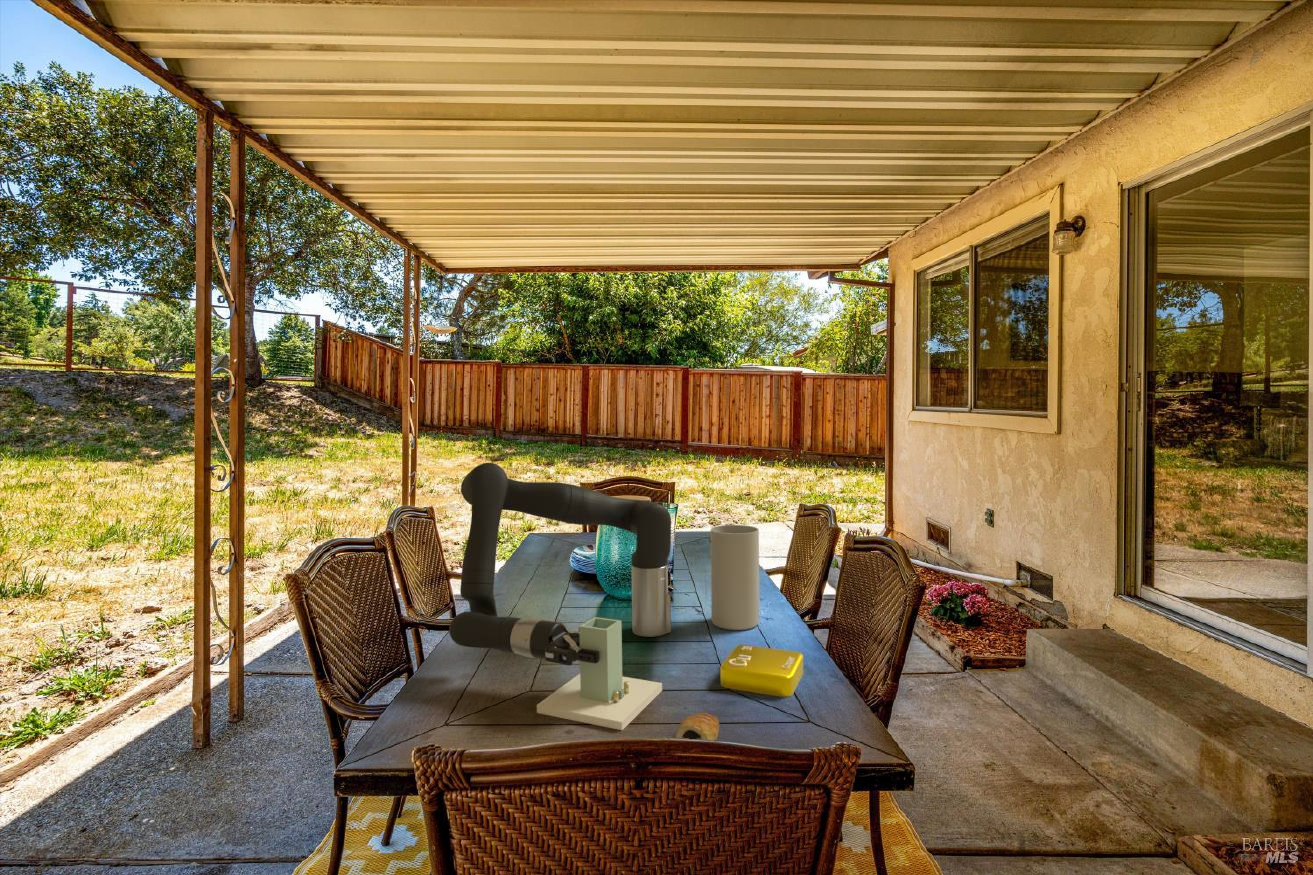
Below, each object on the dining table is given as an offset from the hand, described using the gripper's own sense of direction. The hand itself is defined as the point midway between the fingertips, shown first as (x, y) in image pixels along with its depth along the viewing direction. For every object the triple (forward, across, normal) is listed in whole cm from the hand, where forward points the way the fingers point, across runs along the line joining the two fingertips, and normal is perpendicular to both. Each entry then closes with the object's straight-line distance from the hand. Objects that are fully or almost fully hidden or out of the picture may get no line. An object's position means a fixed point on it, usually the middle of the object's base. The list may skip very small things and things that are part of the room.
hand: (609, 649), depth 130 cm
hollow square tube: (-2, 0, +9) cm, 9 cm away
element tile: (+24, +23, +11) cm, 35 cm away
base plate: (-2, 0, +10) cm, 11 cm away
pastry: (+20, -6, +11) cm, 24 cm away
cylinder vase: (+9, +54, +11) cm, 56 cm away
